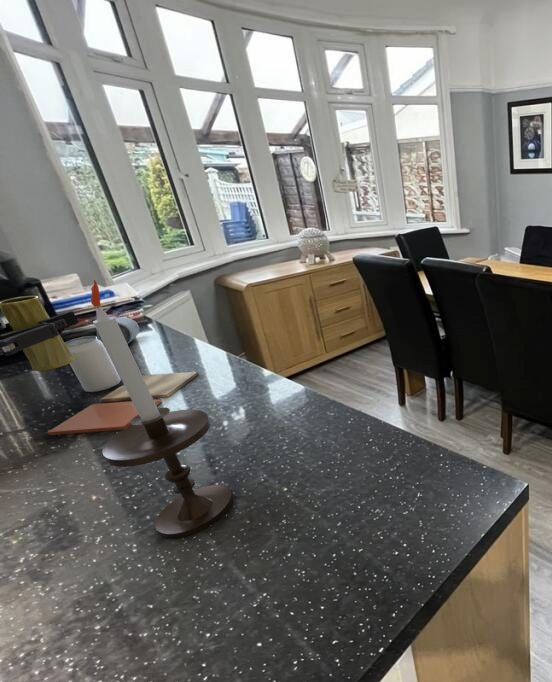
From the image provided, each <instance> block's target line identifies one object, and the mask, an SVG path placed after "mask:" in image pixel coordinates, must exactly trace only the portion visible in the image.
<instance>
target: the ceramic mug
mask: <svg viewBox="0 0 552 682" xmlns="http://www.w3.org/2000/svg"><path fill="white" fill-rule="evenodd" d="M115 319H116V321H117V323H118V325H119V328H120V330H121V332H122V334H123V336H124V338H125V340H126V342H127V345H129V344H130V343H132V341H133V340H134V339H135V338H136V337H137V336H138V335H139V333H140V326H139V324H138V323H137V322H136V321H135V320H133V319H132V318H129V317H115ZM96 337H97V339H98V340H100V341H101V342H102V343H103V341H102V339H101V337H100V335H99V333H98V331H97V330H96ZM103 345H104V343H103Z"/></svg>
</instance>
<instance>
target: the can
mask: <svg viewBox="0 0 552 682" xmlns="http://www.w3.org/2000/svg"><path fill="white" fill-rule="evenodd" d="M64 343H65V344H66V346H67V347H68V349H69V351H70V353H71V354H72V356H73V357H74V358H75V360H74V361H73V362H72V363H70V364H69V365H70V367H71V369H72V371H73V373H74V374H75V376H76V378H77V380H78V381H79V384H80V385H81V387H82V389H83V390H84V391H85V392H86V393H87V392H88V393H97V392H98V393H99V392H103V391H107V390H109V389H111V388H114V387H116V386H118V385H119V384H120V383H121V382H122V380H121V378H120V376H119V374H118V372H117V369H116V367H115V365H114V363H113V361H112V359H111V357H110V355H109V353H108V351H107V349H106V347H105V345H104V344H103V343H102V342H101V341H100V340H99V339H98V337H97V335H88V336H87V335H85V336H81V337H77V338H73V339H69V340H67V341H65V342H64Z"/></svg>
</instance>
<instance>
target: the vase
mask: <svg viewBox="0 0 552 682" xmlns="http://www.w3.org/2000/svg"><path fill="white" fill-rule="evenodd" d="M0 311H1V313H2V314H3V316H4V318H5V320H6V321H7V323H9V324H10V326H11V328H12V329H13V331H16V330H19V329H23V328H26V327H30V326H33V325H37V324H39V323H38V322H40V321H43V320H46V319H49V318H51V317H50V316H49V314H48V312H47V311H46V309H45V306H44V305H43V303H42V301H41V299H40V297H39V295H25V296H18V297H12V298H8V299H3V300H0ZM22 351H23V353H24V355H25V357H26V359H27V360H28V362H29V364H30V367H31V370H32V371H34V372H45V371H50V370H56V369H58V368H62V367H65V366H67V365H70V363H72V362H73V361H74V360H75V358H74V357H73V356H72V354H71V353H70V351H69V349H68V347H67V346H66V344H65V342H64V339H63V338H62V336H61V334H59V335H58V336H56V337H55V338H53V339H51V338H50V339H48V340H45V341H43V342H40V343H38V344H35V345H32V346H30V347H27V348H25V349H22Z"/></svg>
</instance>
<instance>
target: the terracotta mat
mask: <svg viewBox="0 0 552 682" xmlns="http://www.w3.org/2000/svg"><path fill="white" fill-rule="evenodd" d="M153 400H154V402H155V404H156V406H157V407H158V406H159V405H160V404H161V403H162V400H161V398H156V399H153ZM137 415H139V414H138V412H137V410H136V408H135V406H134V404H133V402H132V400H129V401H115V402H102V403H92V404H91V405H89V406H87V407H85V408H84V409H82V410H81V411H79V412H77V413H76V414H74V415H73V416H71V417H69V418H68V419H65V420H64V421H63V422H61V423H60V424H58V425H57V426H55V427H53V428H52V429H50V430H48V431H47V434H48V435H49V436H58V435H60V436H61V435H70V434H71V435H72V434H84V433H85V434H86V433H97V432H110V431H111V432H112V431H123V430H124V429H126V428H128V427H130V426H132V424H131V423H130V421H131V420H132V419H133V418H134V417H135V416H137Z"/></svg>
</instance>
